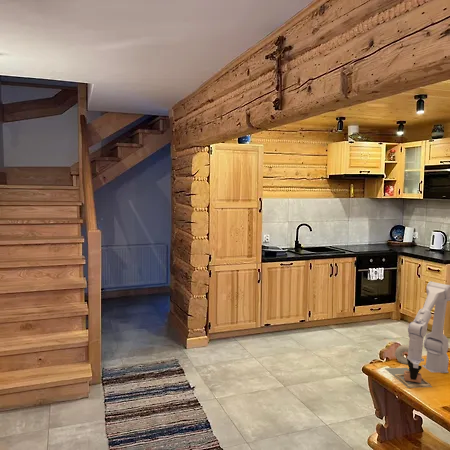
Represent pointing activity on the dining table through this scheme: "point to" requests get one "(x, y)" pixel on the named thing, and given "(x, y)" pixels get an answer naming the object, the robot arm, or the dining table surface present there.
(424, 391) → the dining table surface
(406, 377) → the reddish brown block
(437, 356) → the robot arm
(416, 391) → the dining table surface
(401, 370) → the mat
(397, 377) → the frame
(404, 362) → the donut
